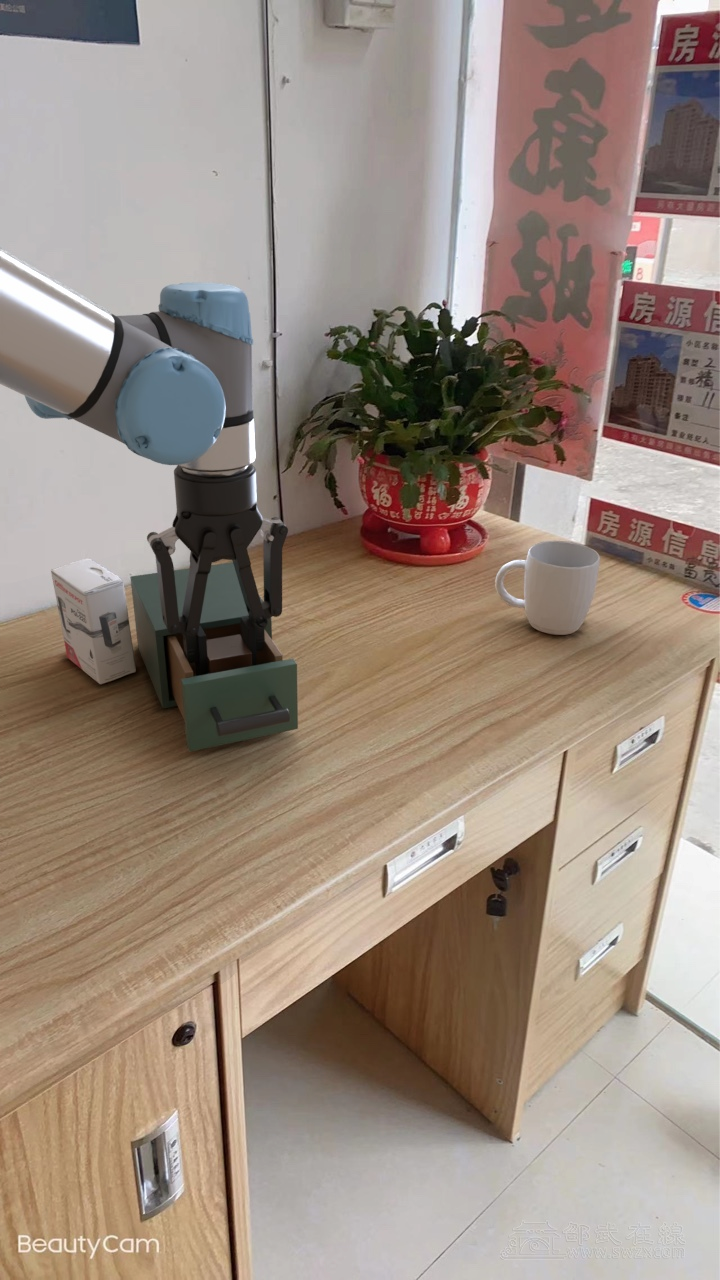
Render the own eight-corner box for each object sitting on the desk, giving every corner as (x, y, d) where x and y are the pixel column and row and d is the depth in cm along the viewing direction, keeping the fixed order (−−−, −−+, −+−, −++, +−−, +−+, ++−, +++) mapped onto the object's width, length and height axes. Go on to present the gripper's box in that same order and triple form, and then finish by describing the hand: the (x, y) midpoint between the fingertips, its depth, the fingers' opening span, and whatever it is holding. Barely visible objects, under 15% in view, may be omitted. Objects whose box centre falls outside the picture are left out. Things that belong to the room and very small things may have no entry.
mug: (592, 615, 118) (603, 545, 113) (585, 645, 111) (597, 572, 106) (498, 600, 121) (505, 532, 117) (485, 629, 114) (492, 557, 109)
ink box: (63, 658, 105) (48, 566, 99) (101, 645, 108) (89, 555, 102) (98, 687, 99) (85, 592, 94) (138, 672, 102) (127, 579, 97)
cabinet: (273, 687, 100) (271, 611, 96) (162, 708, 96) (154, 630, 91) (238, 631, 112) (234, 561, 107) (138, 648, 108) (130, 576, 103)
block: (211, 697, 90) (209, 660, 88) (201, 677, 93) (198, 640, 91) (253, 690, 91) (251, 652, 89) (241, 670, 95) (239, 633, 93)
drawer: (312, 751, 88) (311, 684, 84) (199, 776, 84) (193, 707, 80) (259, 667, 102) (257, 607, 98) (161, 685, 98) (155, 623, 95)
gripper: (291, 445, 87) (293, 651, 98) (111, 461, 81) (136, 679, 92) (317, 466, 81) (317, 683, 92) (125, 486, 75) (150, 716, 86)
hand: (226, 681), depth 92 cm, fingers closed on block, 4 cm apart
